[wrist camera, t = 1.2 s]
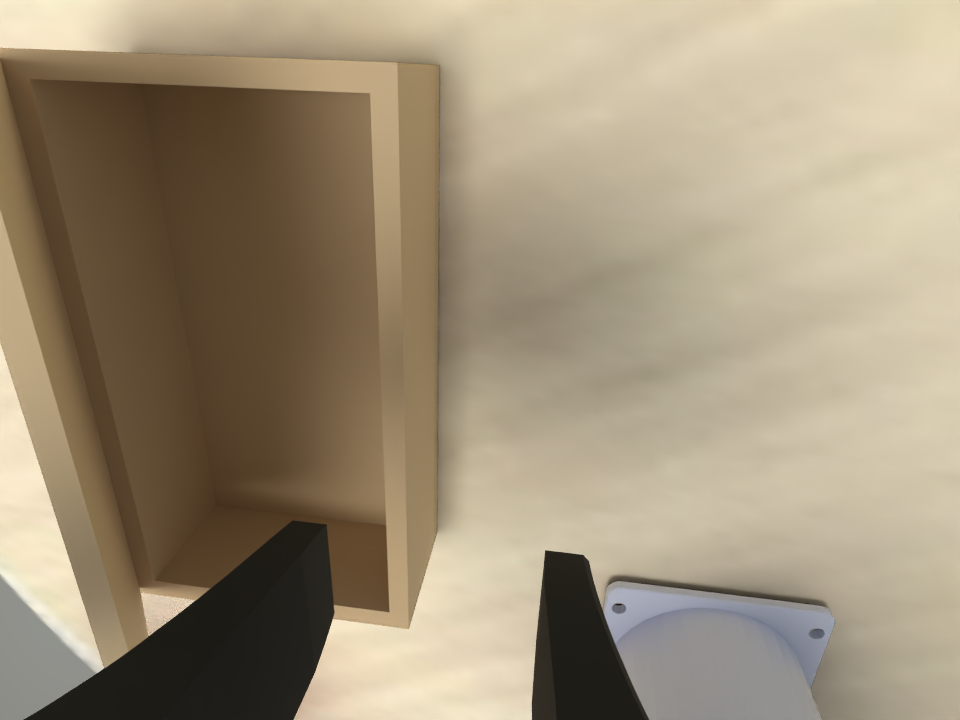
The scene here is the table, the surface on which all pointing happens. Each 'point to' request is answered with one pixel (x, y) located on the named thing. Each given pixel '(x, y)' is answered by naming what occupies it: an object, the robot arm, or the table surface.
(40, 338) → the lid flap
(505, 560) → the table surface
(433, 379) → the kraft box
